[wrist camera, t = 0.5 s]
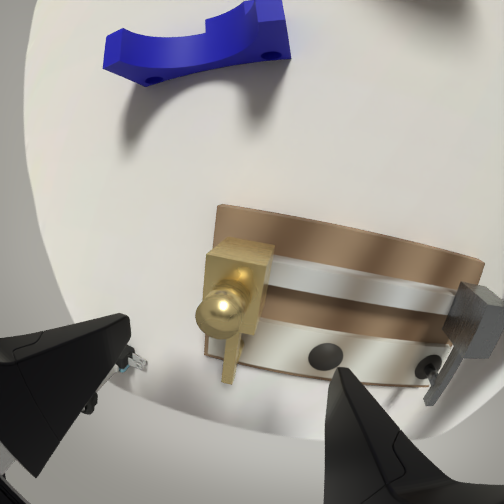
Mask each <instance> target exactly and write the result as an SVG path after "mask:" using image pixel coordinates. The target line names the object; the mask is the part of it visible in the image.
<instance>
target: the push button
mask: <svg viewBox="0 0 504 504" xmlns="http://www.w3.org/2000/svg"><path fill="white" fill-rule="evenodd" d="M140 360H143V362H141V361H140ZM137 362H139V363H142V364H144V365H146V360H145V359H143V358H141V357H139V356H137V355H136V354H134V348H133V347H131V346H128V345H126V347H125V348H124V350H123V352H122V353H121V355H120V357H119V358H118V360H117V362H116V364H115V365H114V367H113V368H112V370H111V371H110V372H109V374H108V375H107V376H106V378H105V379H104V381H103V382H102V383H101V385H100V386H99V387H98V389H97V390H96V391H95V393H94V394H93V396H92V397H91V398H90V400H89V401H88V403H87V404H86V405H85V407H84V408H83V410H82V411H81V412H82V413H84V414H91V413H92V412H93V411H94V406H95V405H96V404H97V398H98V395H97V391H98V390H99V389H100V388H101V387H102V386H103V385H104V384H105V383H106V382H107V380H108V379H109V378H110V377H111V376H112V375H113V374H114V373H117V372H118V371H120V372H125V371H126V370H127V368H128V367H129V366H132V367H133V366H134V367H136V368H138V369H140V370H142V365H141V364H139V363H137ZM136 364H137V365H139V367H137V365H136Z"/></svg>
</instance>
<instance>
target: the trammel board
mask: <svg viewBox="0 0 504 504" xmlns="http://www.w3.org/2000/svg"><path fill="white" fill-rule="evenodd" d="M227 237H234V238H239V239H244V240H250V241H255V242H261V243H266V244H271V245H275V249H274V255H273V261H272V266H271V272H270V278H269V283H268V289H267V294H266V300H265V304H264V307H263V310H262V313H261V317H260V320H259V323H258V326H257V329H256V332H255V335H249V334H245V333H242V334H241V339H242V340H243V341H244V343H245V345H244V348H243V350H242V353H241V356H240V358H239V361H238V363H237V364H241V365H245V366H250V367H254V368H259V369H264V370H269V371H274V372H279V373H284V374H290V375H295V376H301V377H308V378H314V379H321V380H329V381H331V379H332V377H333V374H334V372H335V370H336V368H337V367H347V368H349V369H350V370H351V371H352V372H353V373H354V375H355V376H356V377H357V378H358V379H359V381H360V382H361V383H362V384H366V385H379V386H397V387H429V385H430V382H429V380H428V378H427V376H426V374H425V372H424V368H425V366H426V365H428V364H430V363H432V364H433V365H434V367H435V369H436V371H437V372H438V371H439V369H440V367H441V366H442V364H443V362H444V360H445V358H446V357H447V355H448V353H449V351H450V349H451V346H452V342H451V341H450V340H449V338H448V337H447V335H446V334H445V333H444V331H443V330H442V327H443V325H444V322H445V320H446V318H447V315H448V313H449V311H450V308H451V306H452V303H453V301H454V298H455V295H456V293H457V290H458V287H459V284H460V281H462V282H467V283H471V284H476V285H478V283H479V280H480V277H481V274H482V271H483V268H484V265H485V263H484V262H482V261H481V260H479V259H477V258H473V257H469V256H466V255H462V254H459V253H455V252H451V251H448V250H444V249H440V248H436V247H432V246H428V245H424V244H420V243H416V242H412V241H408V240H404V239H400V238H396V237H391V236H387V235H383V234H378V233H374V232H369V231H365V230H360V229H356V228H351V227H346V226H341V225H337V224H332V223H327V222H322V221H317V220H311V219H306V218H301V217H296V216H290V215H285V214H279V213H274V212H268V211H262V210H256V209H250V208H244V207H238V206H232V205H225V204H221V205H218V206H217V213H216V222H215V231H214V240H213V248H214V247H216V246H217V245H218V244H219V243H221V242H222V241H223V240H224V239H225V238H227ZM225 345H226V339H224V340H220V339H215V338H212V337H209V336H208V335H206V334H205V348H204V355H206V356H209V357H213V358H217V359H221V360H224V354H225Z"/></svg>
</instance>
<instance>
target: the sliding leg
mask: <svg viewBox="0 0 504 504" xmlns="http://www.w3.org/2000/svg"><path fill="white" fill-rule="evenodd" d="M274 249H275V245H271V244H266V243H261V242H255V241H250V240H244V239H239V238H234V237H227V238H225V239H224V240H223V241H222V242H221V243H219V244H218V245H217V246H216V247H214V248H213V249H212V250H211V251H210V252H208V253H207V254H206V263H205V275H204V287H203V301H202V302H201V304H200V305H199V306H198V308H197V310H196V314H195V318H196V322H197V324H198V326H199V328H200V329H201V330H202V331H203V332H204V333H205V334H206V335H208V336H209V337H212V338H215V339H220V340H224V339H226V345H225V354H224V363H223V372H222V381H221V382H223V383H227V384H231V385H232V383H233V381H234V378H235V373H236V367H237V363H238V361H239V358H240V356H241V353H242V350H243V348H244V345H245V343H244V341H243V340H242V339H241V334H242V333H245V334H249V335H255V332H256V329H257V326H258V323H259V320H260V317H261V313H262V310H263V307H264V304H265V300H266V294H267V289H268V283H269V278H270V272H271V266H272V261H273V255H274Z"/></svg>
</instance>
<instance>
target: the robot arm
mask: <svg viewBox="0 0 504 504" xmlns="http://www.w3.org/2000/svg"><path fill="white" fill-rule="evenodd" d="M130 337H131V328H130V319H129V317H128V316H127V315H124V314H121V313H117V314H113V315H109V316H105V317H101V318H97V319H93V320H88V321H84V322H80V323H76V324H72V325H68V326H63V327H59V328H55V329H50V330H46V331H44V332H43V331H41V332H36V333H31V334H26V335H20V336H13V337H6V338H0V504H30V503H29V502H28V501H27V500H26V499H25V498H24V497H23V496H22V495H21V494H19V493H18V492H17V491H16V490H15V489H14V488H13V487H12V486H11V485H10V484H9V483H8V482H7V480H6V478H5V471H6V470H7V469H8V468H9V467H10V466H11V465H12V464H13V463H14V461H15V460H17V461H18V462H19V463H20V464H21V465H22V466H23V467H24V468H25V469H26V470H27V471H28V472H29V473H30V474H32V475H33V476H34V477H35V478H37V476H38V475H39V474H40V472H41V471H42V469H43V468H44V466H45V464H46V463H47V461H48V460H49V458H50V457H51V455H52V454H53V452H54V451H55V449H56V448H57V446H58V445H59V443H60V441H61V440H62V438H63V437H64V436H65V434H66V433H67V431H68V430H69V428H70V427H71V425H72V424H73V422H74V421H75V420H76V418H77V417H78V415H79V414H80V412H81V411H82V410H83V408H84V407H85V405H86V404H87V403H88V401H89V400H90V398H91V397H92V396H93V394H94V393H95V391H96V390H97V389H98V387H99V386H100V385H101V383H102V382H103V381H104V379H105V378H106V376H107V375H108V374H109V372H110V371H111V370H112V368H113V367H114V365H115V364H116V362H117V360H118V358H119V357H120V355H121V353H122V352H123V350H124V348H125V347H126V345H127V343H128V342H129V340H130ZM399 430H400V428H399V427H398V426H397V425H396V423H395V422H394V421H393V420H392V419H391V417H390V416H389V415H388V414H387V413H386V412H385V410H384V409H383V408H382V407H381V406H380V404H379V403H378V402H377V401H376V400H375V398H374V397H373V396H372V395H371V394H370V393H369V391H368V390H367V389H366V388H365V387H364V385H363V384H362V383H361V382H360V381H359V379H358V378H357V377H356V376H355V375H354V373H353V372H352V371H351V370H350V369H349V368H347V367H337V368H336V370H335V372H334V374H333V377H332V379H331V381H330V384H329V388H328V398H327V409H326V418H325V480H324V482H325V483H324V504H504V485H487V484H471V483H463V482H458V481H455V480H452V479H451V478H449V477H448V476H447V475H445V474H444V473H443V472H442V471H441V470H440V469H439V468H438V467H436V466H435V465H434V464H433V463H432V462H431V461H430V460H429V459H428V458H427V457H426V456H425V455H424V454H423V453H422V452H421V451H419V449H418V448H417V447H416V446H415V445H414V444H413V443H412V442H411V441H410V440H409V439H408V437H407V436H406V435H405V434H404V433H403V432H402V430H400V431H399Z"/></svg>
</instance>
